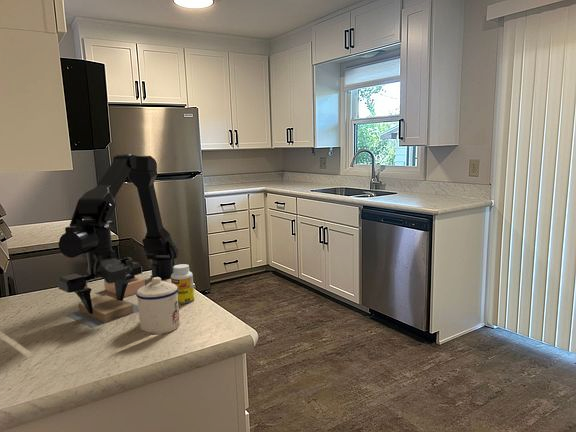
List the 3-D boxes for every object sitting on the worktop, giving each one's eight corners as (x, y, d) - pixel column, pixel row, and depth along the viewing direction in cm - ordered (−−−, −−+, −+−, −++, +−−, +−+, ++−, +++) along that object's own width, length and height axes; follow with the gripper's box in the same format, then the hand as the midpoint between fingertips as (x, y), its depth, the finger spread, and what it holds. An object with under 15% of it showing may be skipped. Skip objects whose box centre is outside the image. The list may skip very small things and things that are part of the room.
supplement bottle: (169, 307, 108) (166, 269, 107) (177, 299, 114) (174, 263, 112) (190, 307, 108) (187, 268, 106) (197, 299, 113) (194, 263, 112)
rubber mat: (118, 301, 115) (117, 298, 115) (147, 311, 106) (146, 308, 106) (65, 317, 104) (64, 314, 104) (92, 331, 95) (92, 327, 95)
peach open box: (125, 286, 128) (124, 273, 127) (145, 293, 121) (144, 279, 120) (105, 292, 123) (103, 279, 122) (125, 299, 116) (123, 285, 115)
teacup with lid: (183, 331, 93) (179, 280, 92) (140, 339, 90) (135, 286, 88) (177, 312, 104) (173, 267, 103) (138, 319, 101) (134, 272, 100)
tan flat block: (106, 302, 112) (106, 295, 111) (133, 312, 104) (132, 304, 103) (79, 310, 106) (78, 303, 106) (105, 322, 98) (104, 314, 98)
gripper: (75, 260, 90) (83, 329, 93) (151, 243, 104) (157, 304, 107) (53, 253, 97) (61, 318, 100) (127, 239, 111) (133, 295, 114)
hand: (105, 308), depth 105 cm, fingers closed on tan flat block, 7 cm apart
